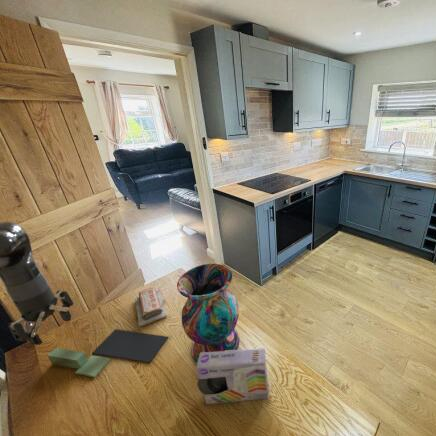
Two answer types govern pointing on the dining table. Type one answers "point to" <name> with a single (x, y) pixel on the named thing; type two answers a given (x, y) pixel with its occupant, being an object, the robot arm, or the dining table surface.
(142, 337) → the mat
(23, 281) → the robot arm
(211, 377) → the cake pan box
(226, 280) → the vase
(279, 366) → the dining table surface
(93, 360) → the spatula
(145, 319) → the packaged product
